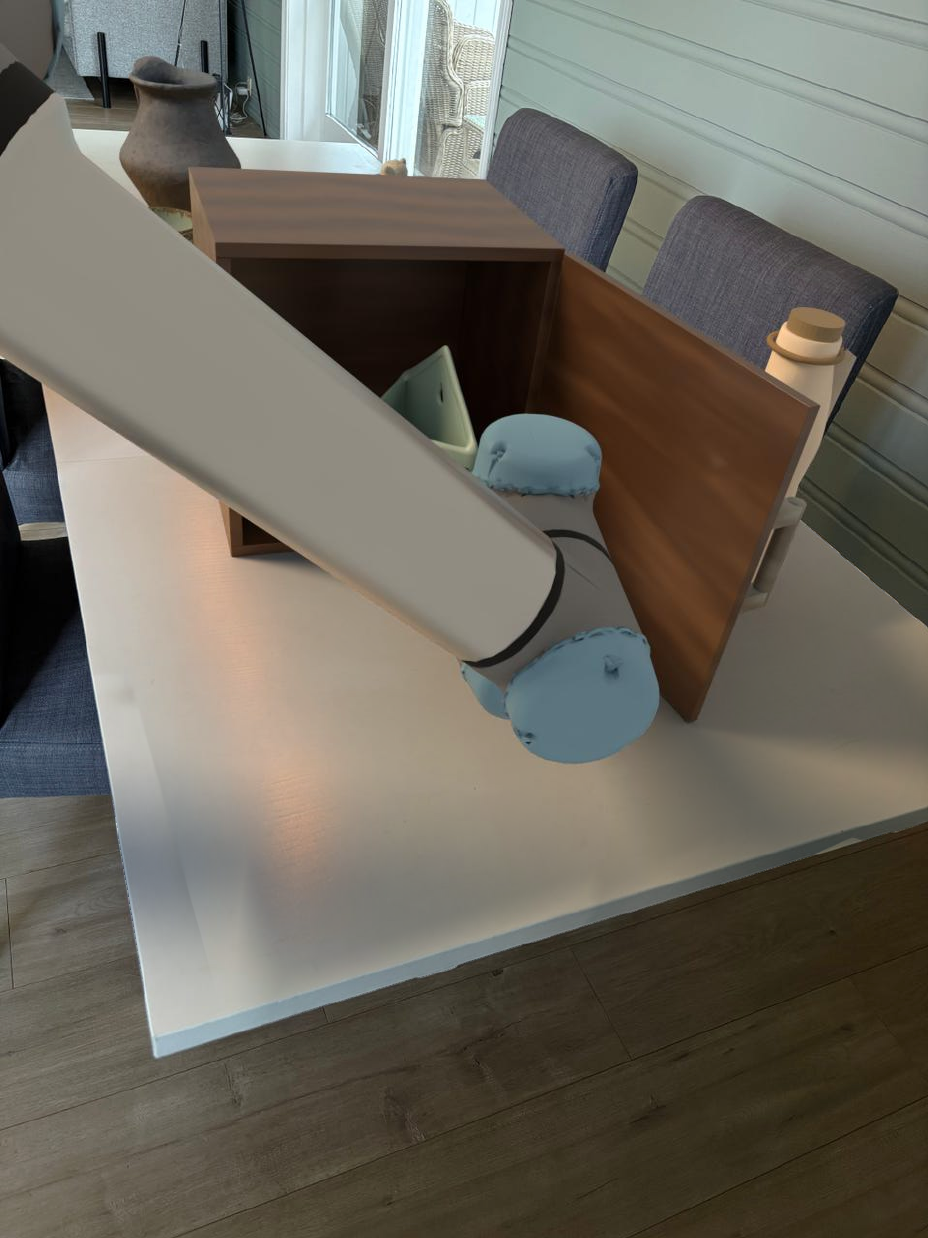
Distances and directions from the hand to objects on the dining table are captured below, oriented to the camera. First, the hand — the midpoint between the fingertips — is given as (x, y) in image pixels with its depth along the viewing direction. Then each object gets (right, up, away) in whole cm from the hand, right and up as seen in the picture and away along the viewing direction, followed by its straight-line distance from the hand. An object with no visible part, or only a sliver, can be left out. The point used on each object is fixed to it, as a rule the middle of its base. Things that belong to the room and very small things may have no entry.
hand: (389, 416), depth 87 cm
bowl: (-42, +37, +62) cm, 84 cm away
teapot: (-8, +38, +69) cm, 79 cm away
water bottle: (+36, -14, +14) cm, 41 cm away
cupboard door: (+23, -19, +4) cm, 29 cm away
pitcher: (-45, +55, +82) cm, 108 cm away
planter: (0, -12, +4) cm, 12 cm away
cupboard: (-5, -4, +17) cm, 18 cm away
